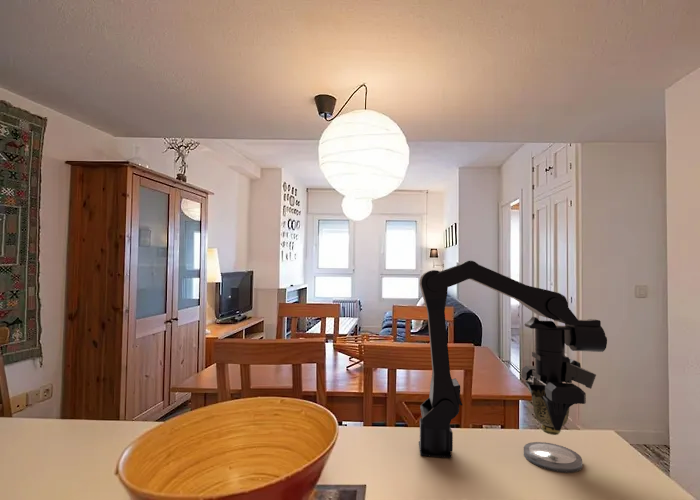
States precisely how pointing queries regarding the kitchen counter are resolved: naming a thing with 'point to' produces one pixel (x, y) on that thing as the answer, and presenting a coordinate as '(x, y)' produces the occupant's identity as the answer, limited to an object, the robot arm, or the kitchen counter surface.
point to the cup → (544, 413)
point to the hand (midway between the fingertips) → (550, 423)
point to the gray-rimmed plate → (553, 457)
